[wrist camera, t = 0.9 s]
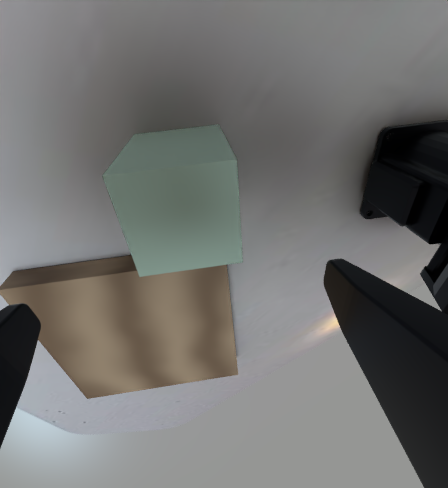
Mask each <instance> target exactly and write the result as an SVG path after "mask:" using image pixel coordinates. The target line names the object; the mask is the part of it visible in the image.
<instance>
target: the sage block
mask: <svg viewBox="0 0 448 488" xmlns="http://www.w3.org/2000/svg"><path fill="white" fill-rule="evenodd" d="M102 177H103V180H104V182H105V185H106V188H107V190H108V193H109V196H110V198H111V201H112V204H113V207H114V209H115V212H116V215H117V217H118V220H119V223H120V225H121V228H122V231H123V234H124V236H125V239H126V242H127V244H128V247H129V250H130V252H131V255H132V258H133V261H134V263H135V266H136V269H137V271H138V274H139V277H143V276H150V275H157V274H164V273H171V272H178V271H185V270H192V269H199V268H206V267H213V266H220V265H227V264H234V263H241V262H243V257H242V240H241V222H240V205H239V187H238V169H237V159H236V157H235V155H234V153H233V151H232V149H231V147H230V145H229V143H228V141H227V139H226V138H225V136H224V134H223V132H222V130H221V128H220V126H219V124H218V125H210V126H201V127H193V128H184V129H175V130H167V131H158V132H150V133H141V134H134V135H133V137H132V138H131V139H130V140H129V142H128V143H127V144H126V146H125V147H124V148H123V150H122V151H121V152H120V153H119V155H118V156H117V157H116V159H115V160H114V161H113V163H112V164H111V165H110V166H109V168H108V169H107V170H106V172H105V173H104V174H103V176H102Z"/></svg>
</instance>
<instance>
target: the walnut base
mask: <svg viewBox="0 0 448 488" xmlns="http://www.w3.org/2000/svg"><path fill="white" fill-rule="evenodd" d="M0 294H1V296H2V297H3V298H4V299H5V300H6V302H7V303H8V304H9V305H13V304H20V303H25V304H27V305H28V306H29V307H30V308H31V309H32V311H33V312H34V313H35V315H36V316H37V317H38V319H39V320H40V322H41V330H40V334H39V337H38V340H39V341H40V342H41V344H42V345H43V346H44V347H45V348H46V350H47V351H48V352H49V353H50V354H51V356H52V357H53V358H54V359H55V360H56V362H57V363H58V364H59V365H60V367H61V368H62V369H63V370H64V371H65V373H66V374H67V375H68V376H69V377H70V379H71V380H72V381H73V382H74V383H75V385H76V386H77V387H78V388H79V389H80V391H81V392H82V393H83V394H84V395H85V397H86V398H87V399H89V398H95V397H102V396H108V395H114V394H120V393H126V392H133V391H139V390H145V389H151V388H158V387H164V386H170V385H176V384H182V383H189V382H195V381H201V380H207V379H213V378H220V377H226V376H232V375H238V369H237V359H236V349H235V340H234V330H233V320H232V311H231V301H230V291H229V282H228V272H227V265H220V266H213V267H206V268H199V269H192V270H185V271H178V272H171V273H164V274H157V275H150V276H143V277H139V274H138V271H137V269H136V266H135V263H134V261H133V258H132V255H129V256H122V257H115V258H107V259H100V260H93V261H85V262H78V263H71V264H64V265H56V266H49V267H42V268H34V269H27V270H20V271H13V272H12V273H11V274H10V276H9V277H8V278H7V279H6V280H5V282H4V283H3V284H2V285H1V286H0Z"/></svg>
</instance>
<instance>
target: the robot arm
mask: <svg viewBox="0 0 448 488" xmlns="http://www.w3.org/2000/svg"><path fill="white" fill-rule="evenodd" d="M389 133H391V134H390V137H389V138H388V139H387V135H388V134H389ZM368 211H370V212H369V213H367V212H368ZM360 214H361V216H362V217H364V218H365V219H373V218H380V217H387V216H388V217H389V218H391V219H392V220H393V221H395V222H396V223H397V224H399V225H400V226H405V227H407V228H408V229H410V230H411V231H412V232H414V233H415V234H416V235H418V236H419V237H420V238H422V239H423V240H424V241H426V242H427V243H428V244H437V243H438V244H439V245H440V246H439V248H438V249H437V251H436V253H435V254H434V256H433V257H432V259H431V261H430V262H429V264H428V266H425V267H424V269H423V270H422V272H421V273H420V275H421V277H422V278H423V280H424V282H425V283H426V285H427V287H428V288H429V290H430V292H431V293H432V295H433V297H434V298H435V300H436V302H437V304H438V305H439V307H440V309H441V310H442V311H440V310H438V309H436V308H434V307H432V306H430V305H429V304H427V303H424V302H423V301H421V300H419V299H417V298H415V297H413V296H412V295H410V294H408V293H406V292H404V291H402V290H400V289H398V288H397V287H395V286H393V285H391V284H389V283H387V282H385V281H383V280H381V279H380V278H378V277H376V276H374V275H372V274H370V273H368V272H366V271H365V270H363V269H361V268H359V267H357V266H355V265H353V264H351V263H349V262H348V261H346V260H344V259H334V260H329V261H328V262H327V264H326V270H325V275H324V287H325V290H326V292H327V295H328V297H329V300H330V302H331V305H332V308H333V310H334V313H335V315H336V318H337V320H338V323H339V325H340V328H341V330H342V332H343V334H344V336H345V338H346V340H347V342H348V344H349V346H350V348H351V350H352V352H353V354H354V355H355V357H356V359H357V361H358V363H359V365H360V367H361V369H362V370H363V373H364V374H365V376H366V378H367V380H368V382H369V384H370V386H371V388H372V390H373V391H374V393H375V395H376V397H377V399H378V401H379V403H380V405H381V407H382V409H383V410H384V412H385V414H386V416H387V418H388V420H389V422H390V424H391V426H392V428H393V429H394V431H395V433H396V435H397V437H398V439H399V441H400V443H401V445H402V446H403V448H404V450H405V452H406V454H407V456H408V458H409V460H410V462H411V464H412V466H413V467H414V469H415V471H416V473H417V475H418V477H419V479H420V481H421V483H422V484H423V486H424V488H448V120H443V121H434V122H426V123H418V124H409V125H401V126H393V127H387V128H385V129H384V130H382V132H381V133H380V135H379V139H378V143H377V147H376V151H375V155H374V159H373V163H372V165H371V169H370V173H369V177H368V181H367V185H366V189H365V193H364V200H363V204H362V208H361V213H360ZM40 330H41V322H40V320H39V319H38V317H37V316H36V315H35V313H34V312H33V311H32V309H31V308H30V307H29V306H28V305H27V304H25V303H20V304H13V305H9V306H7V307H5V308H4V309H2V310H1V311H0V448H1V445H2V442H3V440H4V437H5V435H6V432H7V430H8V427H9V425H10V422H11V419H12V417H13V414H14V412H15V409H16V406H17V404H18V401H19V399H20V396H21V393H22V391H23V388H24V385H25V383H26V380H27V377H28V373H29V370H30V366H31V363H32V359H33V356H34V352H35V348H36V345H37V341H38V337H39V334H40Z"/></svg>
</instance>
